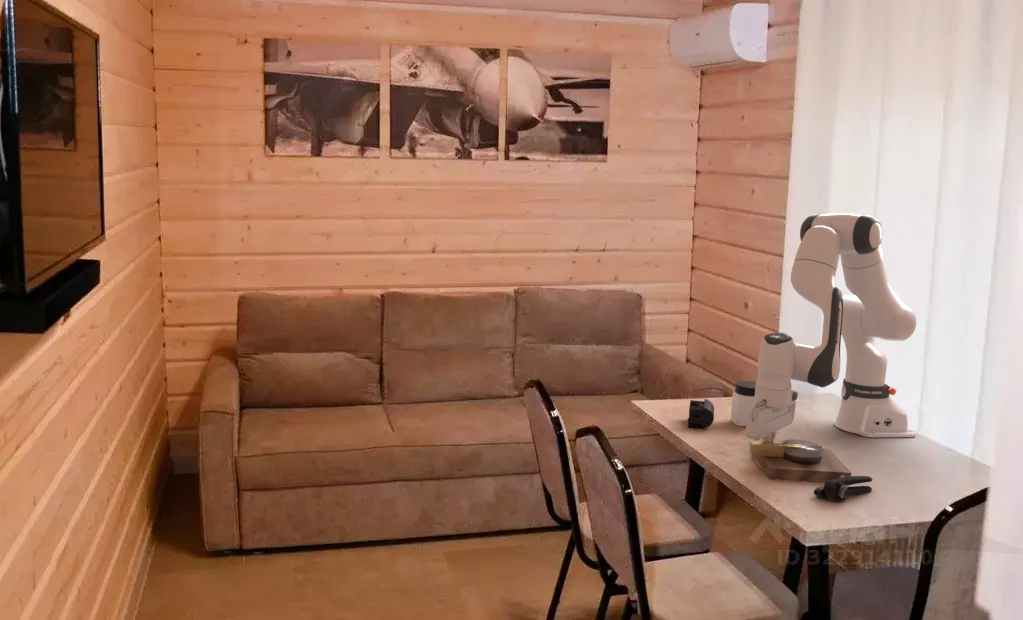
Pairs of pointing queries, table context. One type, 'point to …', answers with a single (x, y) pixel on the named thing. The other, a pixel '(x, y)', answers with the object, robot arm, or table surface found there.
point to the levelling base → (804, 468)
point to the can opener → (843, 487)
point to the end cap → (700, 414)
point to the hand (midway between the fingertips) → (767, 447)
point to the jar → (742, 401)
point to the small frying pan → (789, 450)
